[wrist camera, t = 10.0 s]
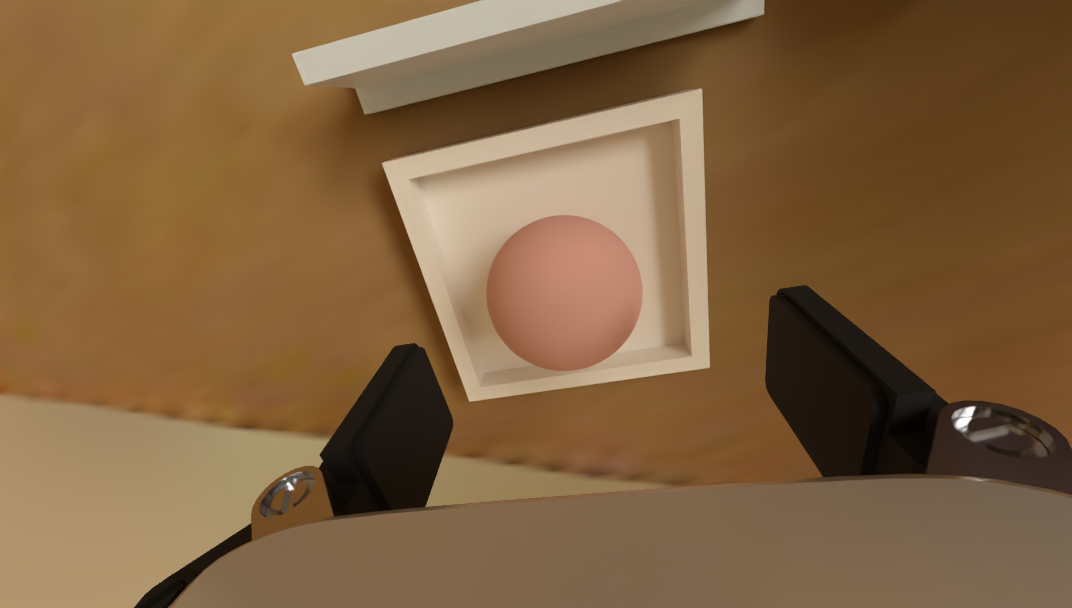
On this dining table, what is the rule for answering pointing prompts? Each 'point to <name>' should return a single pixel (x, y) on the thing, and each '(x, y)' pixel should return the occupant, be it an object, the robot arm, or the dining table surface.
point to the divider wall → (501, 44)
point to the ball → (564, 293)
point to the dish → (579, 190)
